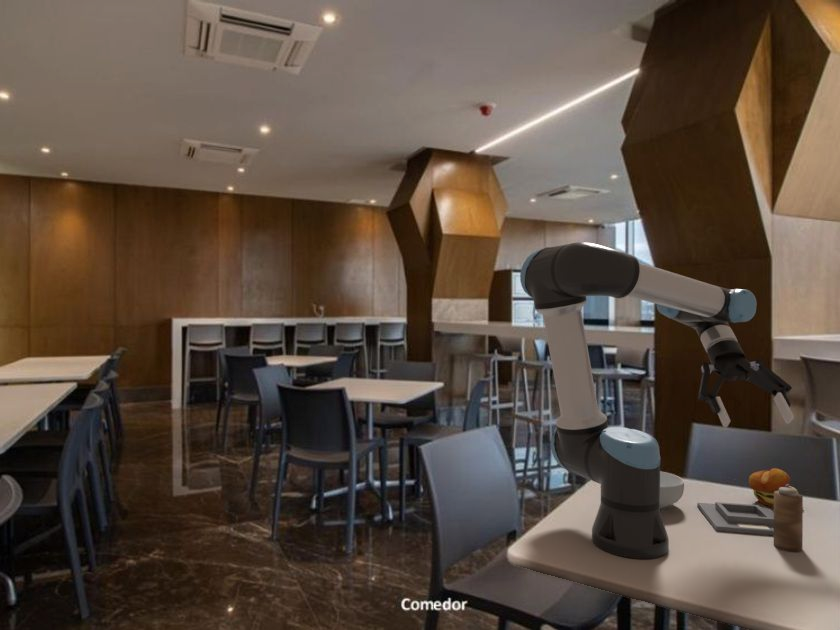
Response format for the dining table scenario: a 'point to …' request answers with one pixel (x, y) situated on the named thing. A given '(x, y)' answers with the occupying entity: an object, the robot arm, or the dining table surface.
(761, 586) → the dining table surface
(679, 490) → the cereal bowl
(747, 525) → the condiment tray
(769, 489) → the cheeseburger
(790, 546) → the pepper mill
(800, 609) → the dining table surface
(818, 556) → the dining table surface
